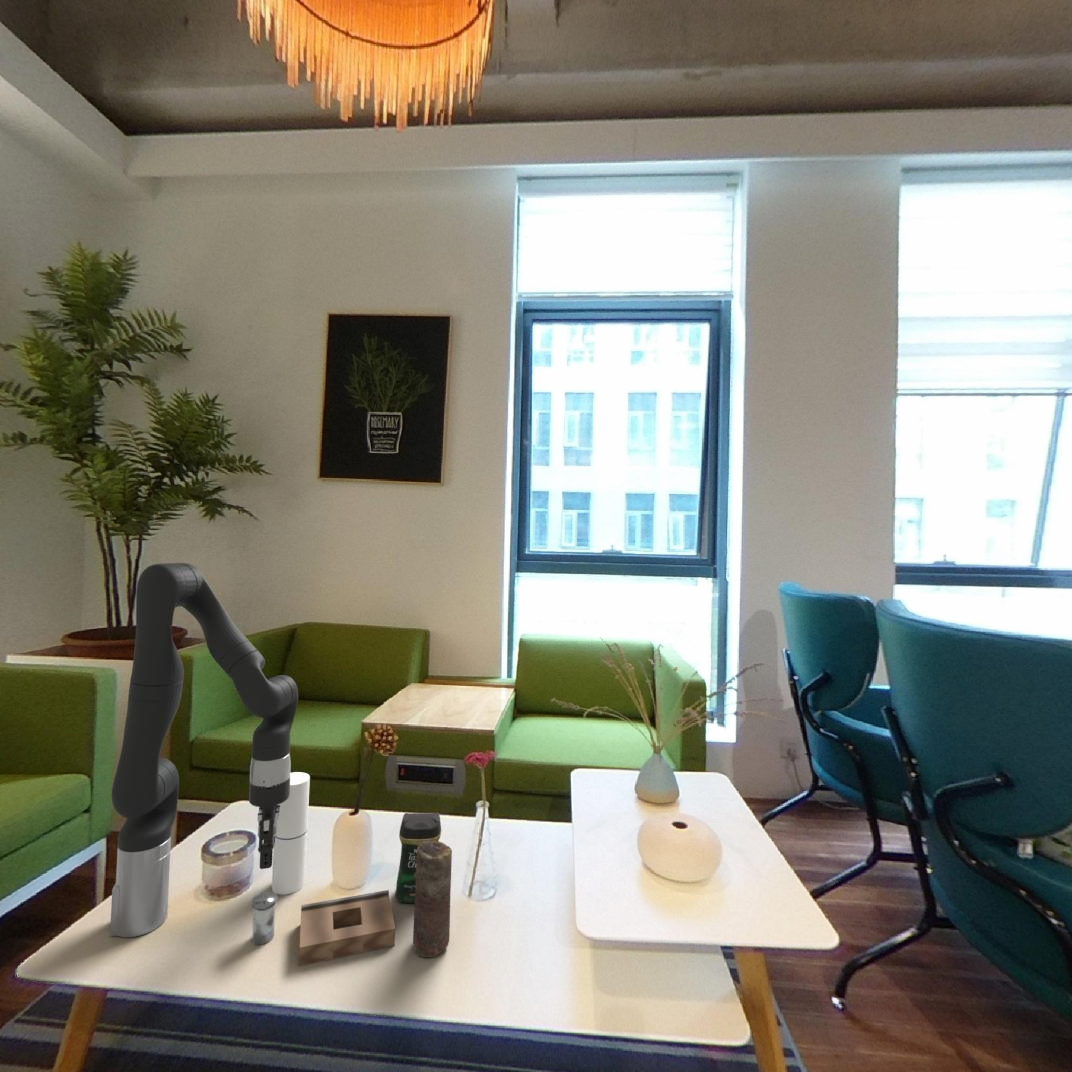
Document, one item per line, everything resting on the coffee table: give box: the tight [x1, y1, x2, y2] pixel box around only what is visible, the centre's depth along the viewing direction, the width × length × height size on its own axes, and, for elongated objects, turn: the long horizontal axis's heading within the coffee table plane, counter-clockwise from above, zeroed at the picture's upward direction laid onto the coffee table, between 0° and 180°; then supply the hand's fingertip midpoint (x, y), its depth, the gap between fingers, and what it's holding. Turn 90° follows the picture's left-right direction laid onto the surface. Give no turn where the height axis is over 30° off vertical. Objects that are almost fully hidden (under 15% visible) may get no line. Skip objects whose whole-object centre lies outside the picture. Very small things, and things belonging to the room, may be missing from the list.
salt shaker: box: [251, 891, 278, 946], centre depth 116 cm, size 5×5×8 cm
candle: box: [412, 841, 453, 958], centre depth 116 cm, size 8×7×20 cm
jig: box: [298, 889, 396, 967], centre depth 118 cm, size 18×12×4 cm, turn 111°
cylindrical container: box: [271, 771, 311, 896], centre depth 133 cm, size 7×7×25 cm
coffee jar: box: [395, 812, 442, 904], centre depth 132 cm, size 10×8×19 cm
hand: (267, 855), depth 116 cm, fingers open, 8 cm apart
